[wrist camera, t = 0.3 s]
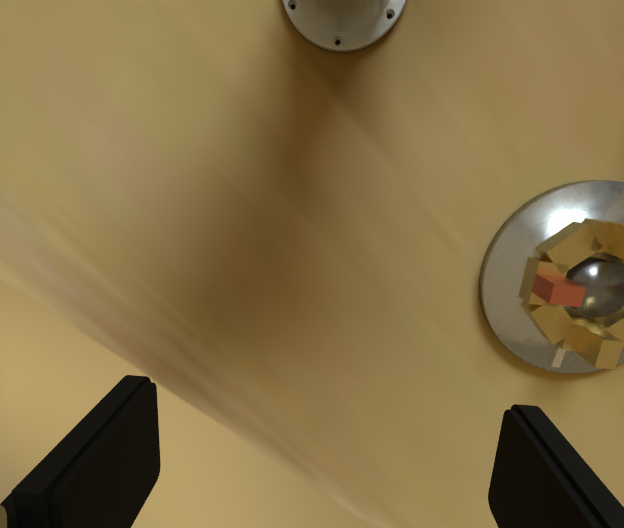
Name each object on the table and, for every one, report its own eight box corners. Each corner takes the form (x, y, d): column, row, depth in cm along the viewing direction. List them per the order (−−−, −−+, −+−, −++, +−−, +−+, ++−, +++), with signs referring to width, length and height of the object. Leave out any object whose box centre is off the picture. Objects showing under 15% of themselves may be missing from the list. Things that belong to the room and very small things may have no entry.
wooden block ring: (539, 213, 42) (571, 221, 36) (674, 227, 42) (728, 238, 36) (508, 334, 45) (533, 360, 40) (633, 349, 45) (676, 376, 39)
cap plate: (502, 169, 43) (519, 170, 39) (712, 191, 42) (750, 195, 38) (462, 355, 48) (473, 372, 44) (646, 377, 48) (674, 396, 44)
